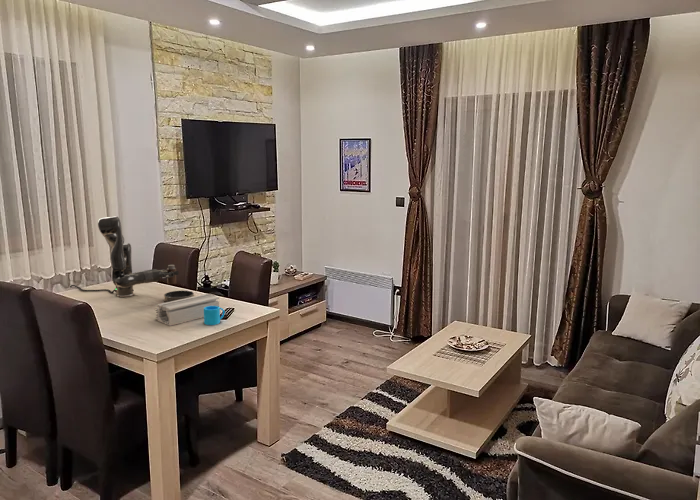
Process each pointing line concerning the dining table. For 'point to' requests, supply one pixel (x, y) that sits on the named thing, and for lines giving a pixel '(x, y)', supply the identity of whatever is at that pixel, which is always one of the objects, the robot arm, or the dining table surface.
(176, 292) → the pan
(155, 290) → the dining table surface
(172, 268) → the pepper mill
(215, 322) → the mug
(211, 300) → the aluminum extrusion profile
